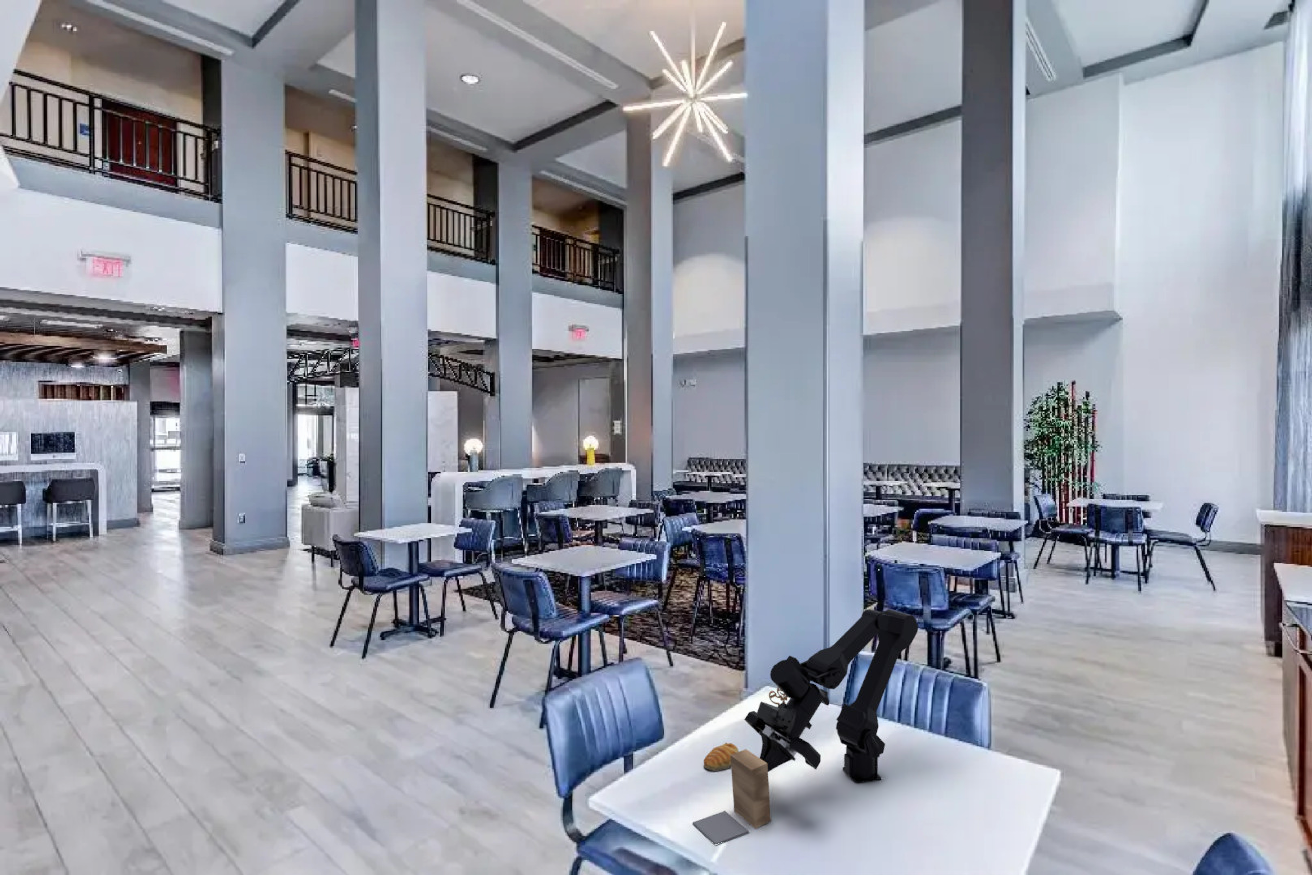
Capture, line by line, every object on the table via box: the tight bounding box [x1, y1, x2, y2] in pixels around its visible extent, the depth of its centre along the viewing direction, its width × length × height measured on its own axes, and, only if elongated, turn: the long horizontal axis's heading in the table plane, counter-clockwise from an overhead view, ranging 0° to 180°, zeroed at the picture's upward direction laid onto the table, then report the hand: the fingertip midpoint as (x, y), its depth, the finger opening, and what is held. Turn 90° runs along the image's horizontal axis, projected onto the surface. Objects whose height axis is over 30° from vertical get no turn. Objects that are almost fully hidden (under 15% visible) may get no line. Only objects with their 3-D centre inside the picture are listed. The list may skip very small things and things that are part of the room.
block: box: [730, 748, 772, 830], centre depth 138 cm, size 4×7×12 cm, turn 30°
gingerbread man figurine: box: [768, 686, 789, 707], centre depth 178 cm, size 9×4×12 cm, turn 99°
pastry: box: [703, 742, 740, 772], centre depth 160 cm, size 9×7×4 cm
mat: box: [692, 810, 750, 845], centre depth 134 cm, size 8×8×1 cm
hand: (758, 773), depth 139 cm, fingers closed
